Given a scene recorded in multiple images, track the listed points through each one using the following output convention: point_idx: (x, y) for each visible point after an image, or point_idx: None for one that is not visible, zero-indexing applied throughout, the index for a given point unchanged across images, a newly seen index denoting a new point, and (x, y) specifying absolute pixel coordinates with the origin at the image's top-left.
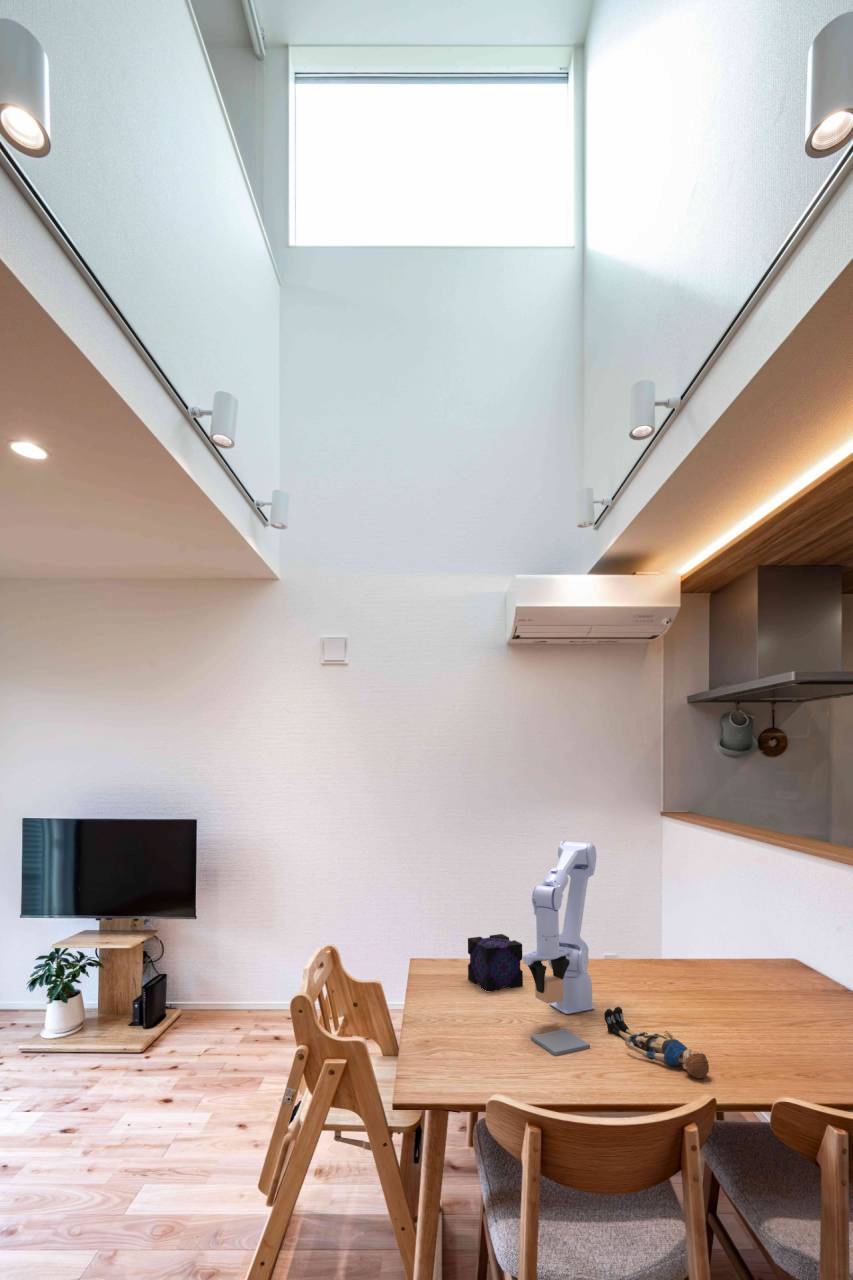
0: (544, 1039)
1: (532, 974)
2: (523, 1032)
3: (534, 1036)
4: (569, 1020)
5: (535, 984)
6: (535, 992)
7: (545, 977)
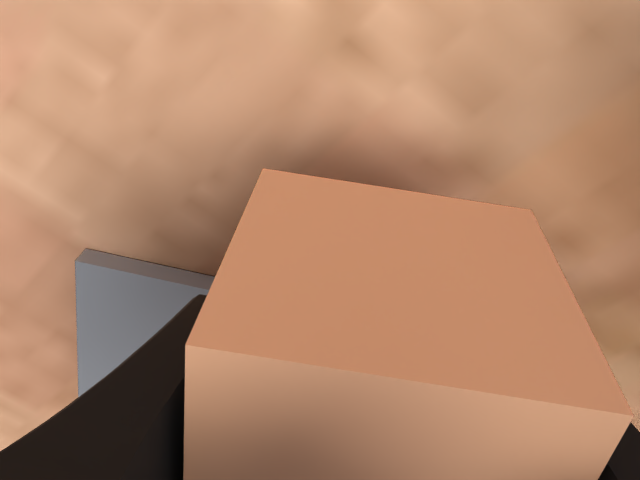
0: (128, 343)
1: (5, 459)
2: (109, 132)
3: (94, 280)
4: (606, 196)
5: (149, 341)
6: (248, 202)
7: (352, 466)
